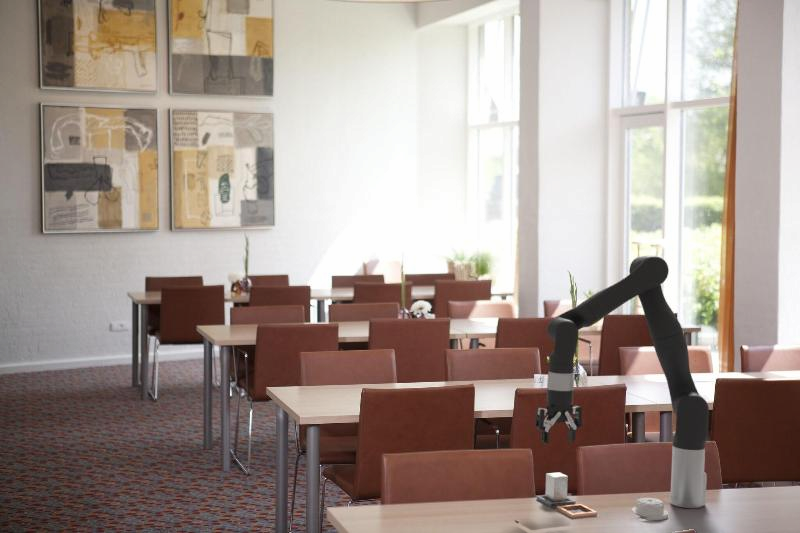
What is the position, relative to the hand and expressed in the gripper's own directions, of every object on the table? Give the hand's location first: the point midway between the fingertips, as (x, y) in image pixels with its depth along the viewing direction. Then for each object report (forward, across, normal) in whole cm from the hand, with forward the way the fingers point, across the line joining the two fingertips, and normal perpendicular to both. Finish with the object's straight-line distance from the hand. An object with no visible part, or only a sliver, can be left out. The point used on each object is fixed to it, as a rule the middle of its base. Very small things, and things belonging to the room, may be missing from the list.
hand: (558, 442), depth 295 cm
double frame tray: (+18, 0, +6) cm, 19 cm away
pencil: (+19, +16, +2) cm, 25 cm away
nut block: (+17, 0, 0) cm, 17 cm away
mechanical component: (+19, -21, +17) cm, 33 cm away
